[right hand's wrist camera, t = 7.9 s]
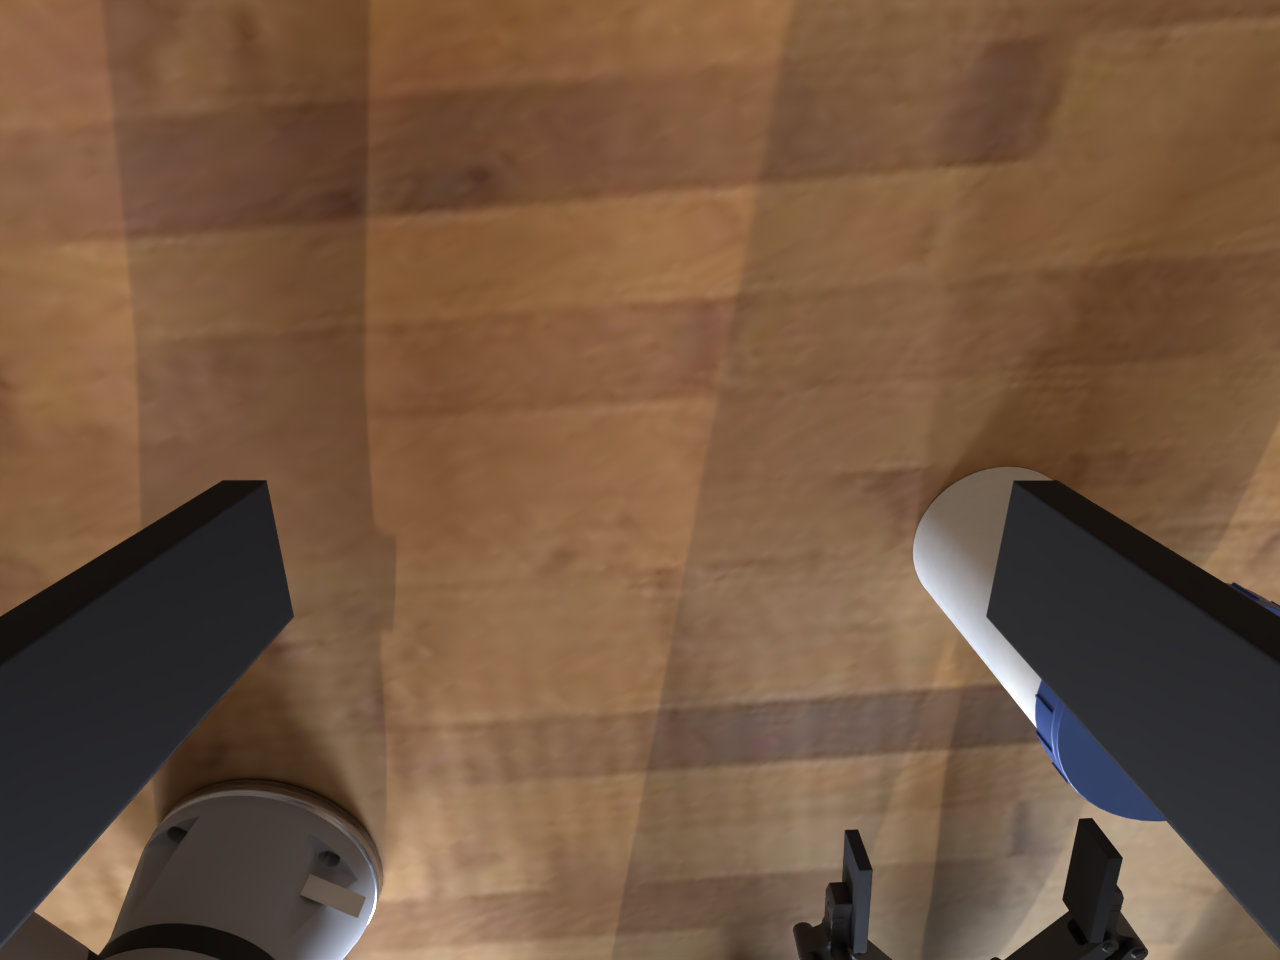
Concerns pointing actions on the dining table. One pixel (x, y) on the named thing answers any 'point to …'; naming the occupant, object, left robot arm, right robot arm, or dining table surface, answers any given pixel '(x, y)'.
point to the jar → (974, 569)
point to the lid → (1097, 752)
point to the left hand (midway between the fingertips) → (979, 842)
